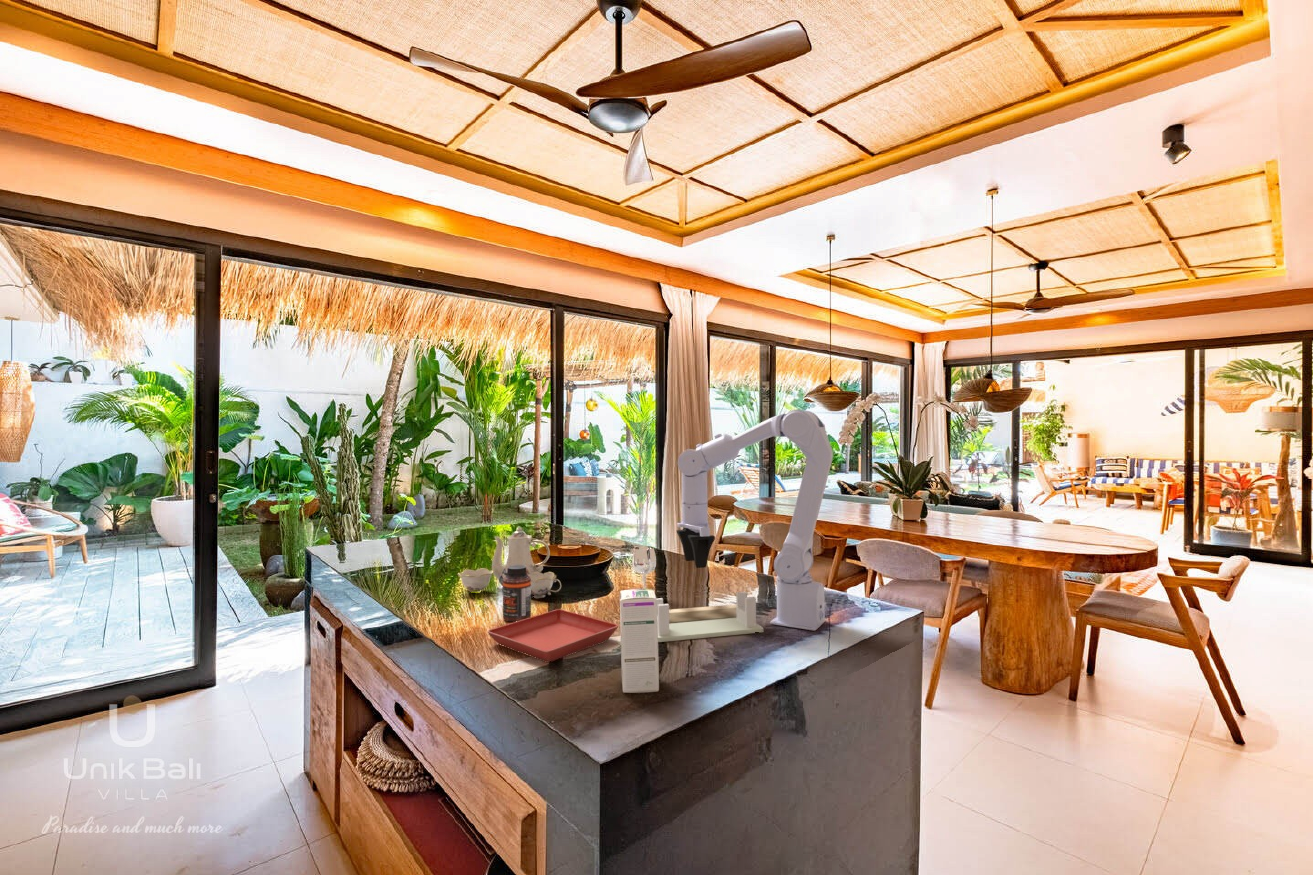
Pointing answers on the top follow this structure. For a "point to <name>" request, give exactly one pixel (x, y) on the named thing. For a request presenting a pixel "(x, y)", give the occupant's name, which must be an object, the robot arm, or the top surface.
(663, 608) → the rail stand
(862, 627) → the top surface
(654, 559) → the wineglass
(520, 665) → the top surface
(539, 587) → the chinaware
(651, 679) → the syrup box
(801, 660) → the top surface
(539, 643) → the plant saucer
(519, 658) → the top surface
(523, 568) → the supplement bottle
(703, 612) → the rail
